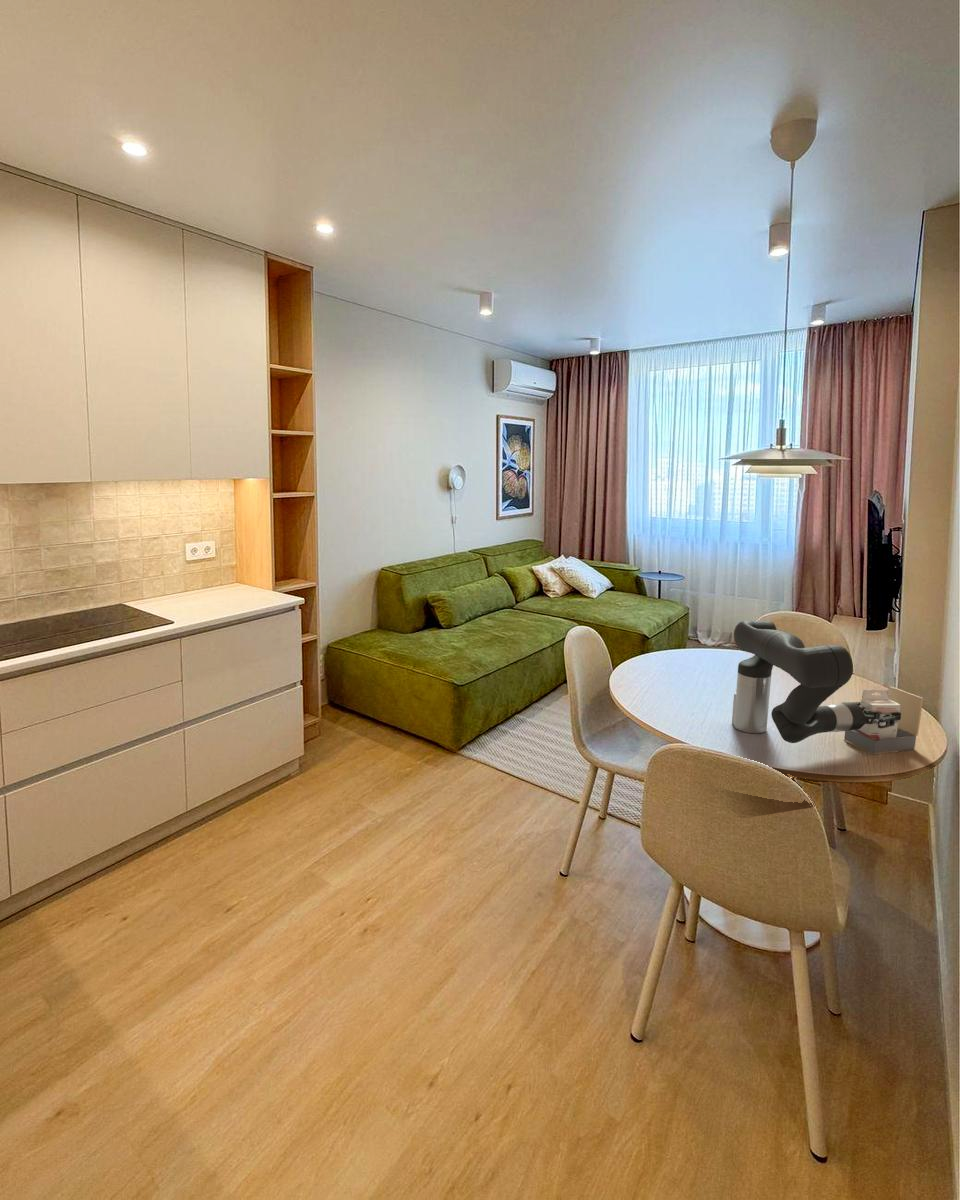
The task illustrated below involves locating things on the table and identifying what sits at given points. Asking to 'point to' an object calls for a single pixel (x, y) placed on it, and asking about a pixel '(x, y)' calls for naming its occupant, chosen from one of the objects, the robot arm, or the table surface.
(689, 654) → the table surface
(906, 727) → the mailer box
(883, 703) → the ink cartridge box
